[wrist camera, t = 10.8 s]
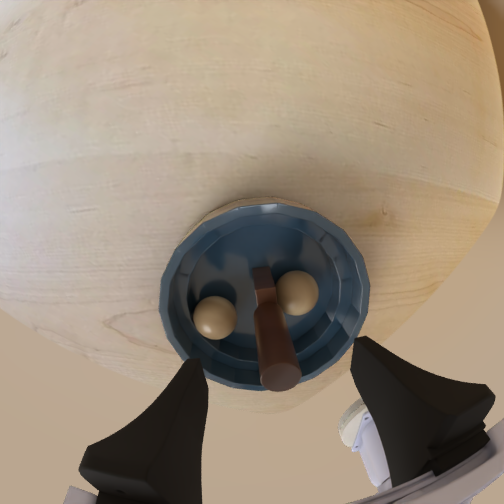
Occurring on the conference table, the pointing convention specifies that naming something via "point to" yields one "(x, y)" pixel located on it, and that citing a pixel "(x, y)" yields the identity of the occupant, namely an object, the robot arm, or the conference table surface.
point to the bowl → (243, 292)
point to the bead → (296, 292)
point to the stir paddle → (273, 337)
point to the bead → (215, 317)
